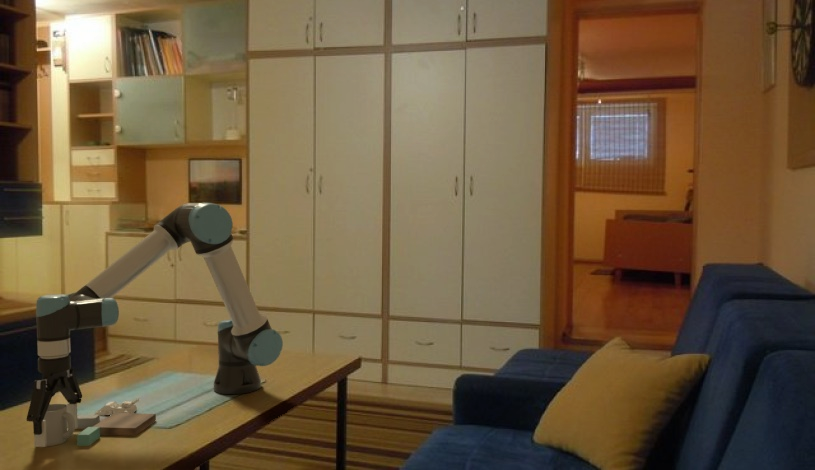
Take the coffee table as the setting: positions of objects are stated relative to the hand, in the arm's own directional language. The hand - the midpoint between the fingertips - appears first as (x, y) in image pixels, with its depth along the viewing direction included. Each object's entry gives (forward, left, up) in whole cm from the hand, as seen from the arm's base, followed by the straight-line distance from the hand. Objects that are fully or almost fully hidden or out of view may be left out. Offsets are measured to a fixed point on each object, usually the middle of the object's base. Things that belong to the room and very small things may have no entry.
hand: (56, 436), depth 177 cm
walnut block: (-12, -12, -1) cm, 17 cm away
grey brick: (-1, -12, -2) cm, 12 cm away
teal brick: (-8, -1, -2) cm, 8 cm away
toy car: (-3, -25, -2) cm, 25 cm away
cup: (0, 0, -2) cm, 2 cm away
